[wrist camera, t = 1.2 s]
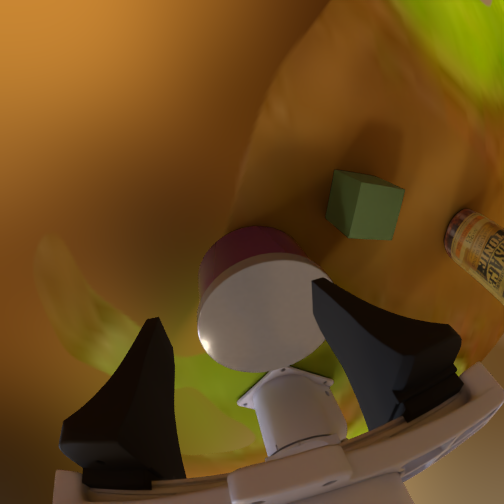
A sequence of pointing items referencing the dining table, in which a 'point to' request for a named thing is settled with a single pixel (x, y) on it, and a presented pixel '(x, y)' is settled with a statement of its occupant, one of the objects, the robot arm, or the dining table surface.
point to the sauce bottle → (478, 249)
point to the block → (364, 205)
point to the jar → (257, 301)
